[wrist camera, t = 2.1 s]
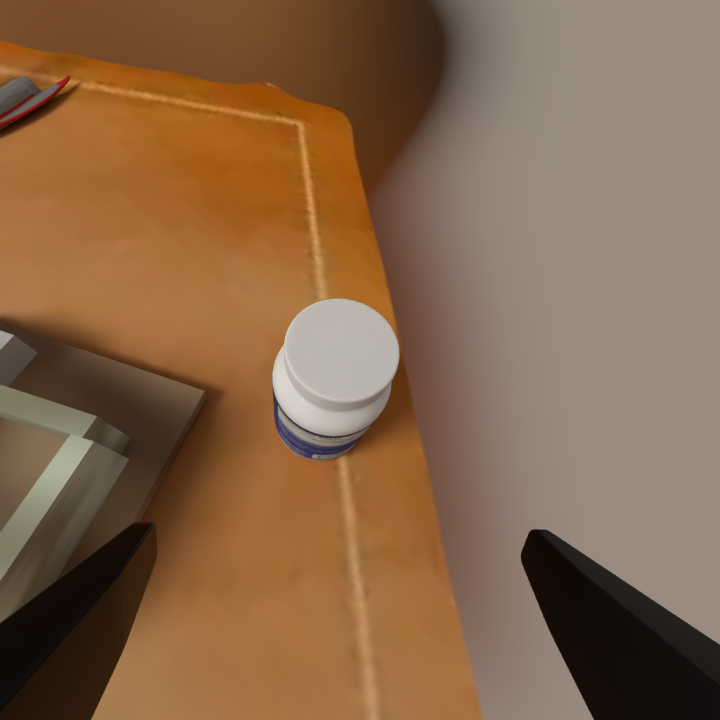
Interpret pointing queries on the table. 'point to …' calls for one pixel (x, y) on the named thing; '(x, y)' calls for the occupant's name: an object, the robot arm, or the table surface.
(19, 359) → the block
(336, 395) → the pill bottle
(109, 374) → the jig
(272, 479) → the table surface
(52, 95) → the toy spaceship
